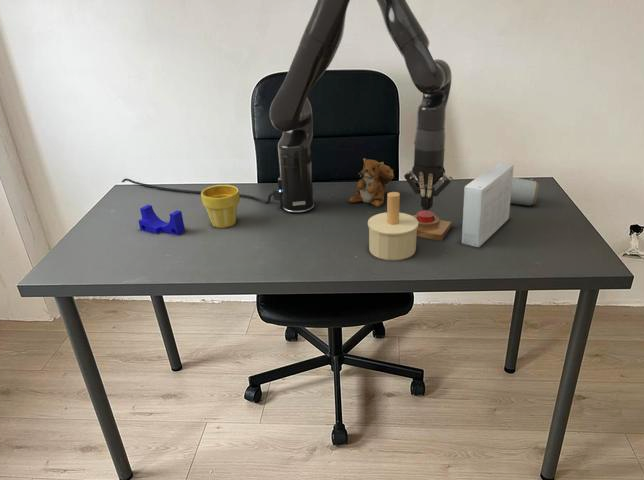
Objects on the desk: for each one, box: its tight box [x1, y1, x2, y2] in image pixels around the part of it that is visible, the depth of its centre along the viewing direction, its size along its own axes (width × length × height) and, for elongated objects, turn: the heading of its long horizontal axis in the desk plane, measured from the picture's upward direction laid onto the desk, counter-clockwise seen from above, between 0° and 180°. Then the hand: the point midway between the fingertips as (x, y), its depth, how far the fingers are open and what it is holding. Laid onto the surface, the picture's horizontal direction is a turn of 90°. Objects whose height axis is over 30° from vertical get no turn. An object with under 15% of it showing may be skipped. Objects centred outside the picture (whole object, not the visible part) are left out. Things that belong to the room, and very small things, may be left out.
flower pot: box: [200, 184, 240, 229], centre depth 153 cm, size 10×10×10 cm
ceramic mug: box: [510, 176, 540, 206], centre depth 162 cm, size 11×8×8 cm
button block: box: [410, 213, 452, 242], centre depth 148 cm, size 12×9×4 cm
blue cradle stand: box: [138, 204, 186, 236], centre depth 151 cm, size 12×4×6 cm, turn 65°
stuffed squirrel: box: [348, 157, 395, 208], centre depth 165 cm, size 10×14×13 cm
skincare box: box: [461, 162, 515, 248], centre depth 143 cm, size 21×5×16 cm, turn 145°
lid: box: [367, 191, 418, 235], centre depth 134 cm, size 13×13×9 cm
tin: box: [368, 227, 418, 261], centre depth 138 cm, size 12×12×7 cm
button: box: [417, 210, 435, 223], centre depth 147 cm, size 4×4×2 cm
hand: (426, 208), depth 145 cm, fingers closed
